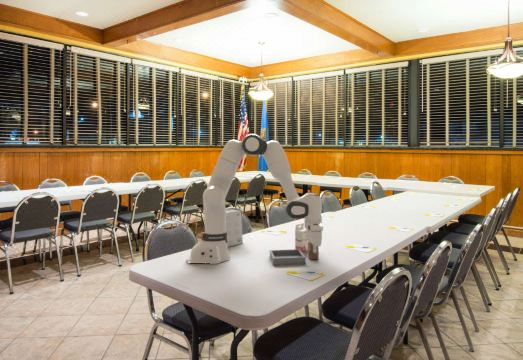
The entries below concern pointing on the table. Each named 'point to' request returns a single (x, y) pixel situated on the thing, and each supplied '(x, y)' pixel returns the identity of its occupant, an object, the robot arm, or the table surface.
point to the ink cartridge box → (301, 238)
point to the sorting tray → (287, 257)
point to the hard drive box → (234, 227)
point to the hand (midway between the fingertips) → (313, 251)
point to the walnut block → (310, 253)
